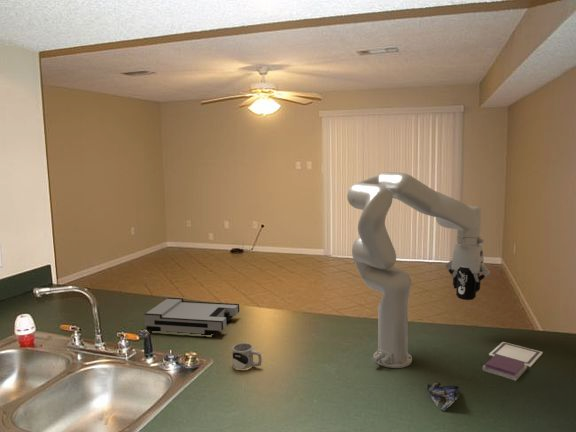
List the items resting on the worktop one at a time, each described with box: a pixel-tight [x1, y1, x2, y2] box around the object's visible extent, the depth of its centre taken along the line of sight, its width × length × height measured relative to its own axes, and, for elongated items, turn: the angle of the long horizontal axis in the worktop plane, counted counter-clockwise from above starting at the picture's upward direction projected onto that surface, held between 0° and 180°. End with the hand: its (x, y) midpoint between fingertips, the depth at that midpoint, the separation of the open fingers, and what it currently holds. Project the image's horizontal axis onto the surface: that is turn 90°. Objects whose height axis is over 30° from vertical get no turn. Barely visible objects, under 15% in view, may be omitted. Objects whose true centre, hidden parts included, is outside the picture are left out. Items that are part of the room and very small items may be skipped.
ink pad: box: [482, 355, 528, 382], centre depth 146 cm, size 10×10×2 cm
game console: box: [143, 297, 240, 335], centre depth 187 cm, size 21×32×8 cm, turn 77°
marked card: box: [488, 341, 544, 368], centre depth 156 cm, size 13×13×1 cm
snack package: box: [427, 380, 460, 411], centre depth 130 cm, size 12×6×12 cm
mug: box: [231, 342, 263, 369], centre depth 152 cm, size 10×7×7 cm, turn 70°
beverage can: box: [455, 266, 477, 301], centre depth 166 cm, size 7×7×12 cm
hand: (466, 289), depth 166 cm, fingers closed on beverage can, 6 cm apart
